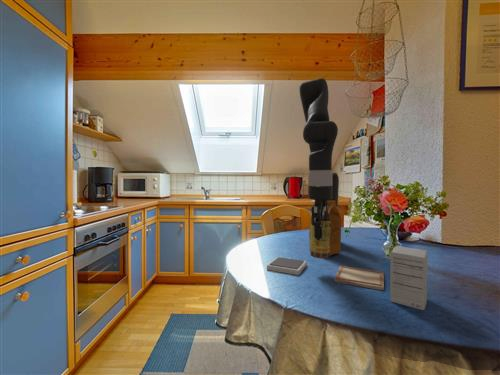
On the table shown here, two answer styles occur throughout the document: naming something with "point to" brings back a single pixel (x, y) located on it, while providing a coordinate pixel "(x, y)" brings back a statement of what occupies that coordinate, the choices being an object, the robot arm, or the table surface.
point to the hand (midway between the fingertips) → (320, 235)
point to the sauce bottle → (321, 246)
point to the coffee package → (333, 228)
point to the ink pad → (287, 265)
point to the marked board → (360, 277)
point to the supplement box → (409, 277)
